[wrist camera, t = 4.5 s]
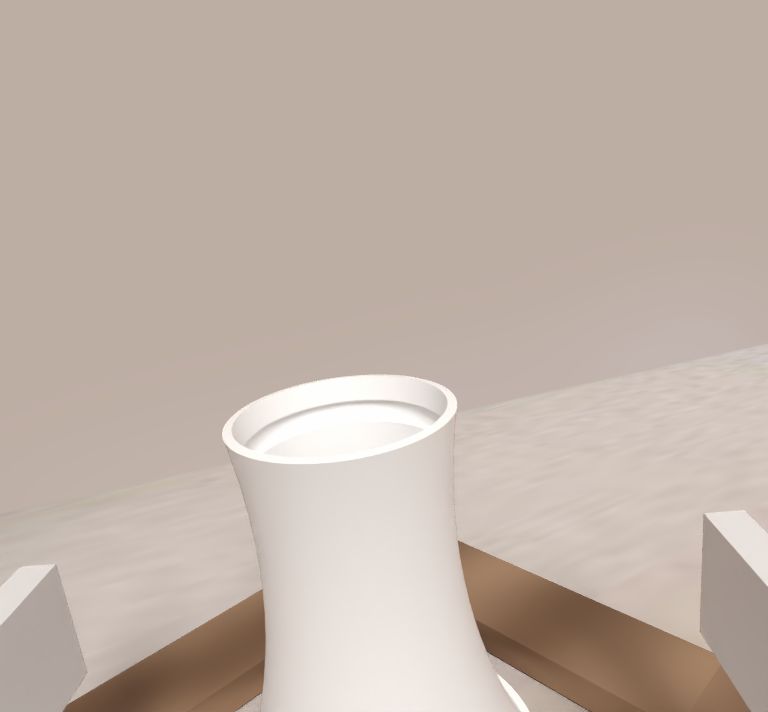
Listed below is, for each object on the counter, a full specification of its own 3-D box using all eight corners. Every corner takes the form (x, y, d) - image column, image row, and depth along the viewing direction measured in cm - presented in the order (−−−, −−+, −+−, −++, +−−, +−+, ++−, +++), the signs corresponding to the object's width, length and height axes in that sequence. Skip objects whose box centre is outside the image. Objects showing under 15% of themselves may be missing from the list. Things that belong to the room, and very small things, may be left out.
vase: (206, 747, 17) (126, 410, 15) (434, 634, 21) (403, 340, 18) (309, 1059, 11) (201, 561, 8) (617, 823, 14) (611, 410, 12)
